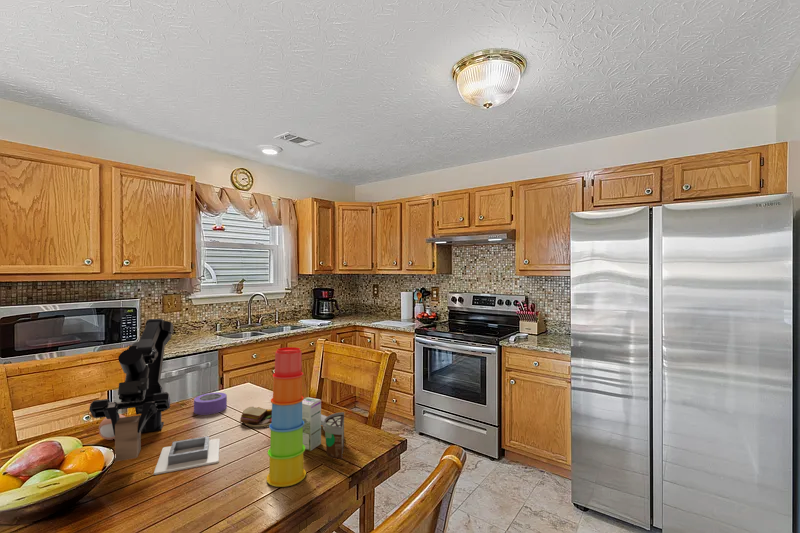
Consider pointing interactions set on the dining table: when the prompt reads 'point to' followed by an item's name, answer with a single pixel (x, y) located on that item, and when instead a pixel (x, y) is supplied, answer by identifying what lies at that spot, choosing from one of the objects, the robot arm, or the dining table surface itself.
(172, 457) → the collar
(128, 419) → the walnut block
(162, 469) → the mat
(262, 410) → the toy sandwich meal
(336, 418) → the food container
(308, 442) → the syrup box
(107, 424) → the toy ball
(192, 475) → the dining table surface
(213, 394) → the tape roll
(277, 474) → the stacking cups
